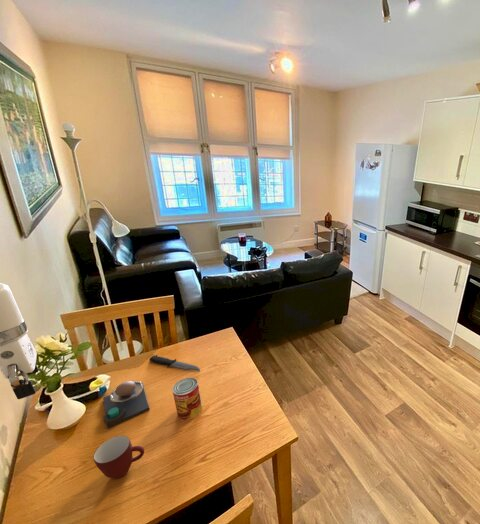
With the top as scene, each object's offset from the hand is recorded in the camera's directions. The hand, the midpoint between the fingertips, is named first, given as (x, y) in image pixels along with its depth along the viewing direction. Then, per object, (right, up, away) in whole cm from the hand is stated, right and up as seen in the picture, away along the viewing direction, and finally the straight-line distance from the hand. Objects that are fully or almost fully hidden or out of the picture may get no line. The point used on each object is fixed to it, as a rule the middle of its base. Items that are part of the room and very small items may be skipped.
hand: (29, 384), depth 77 cm
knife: (+11, -12, +47) cm, 50 cm away
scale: (+5, -20, +28) cm, 34 cm away
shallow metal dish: (+4, -16, +29) cm, 33 cm away
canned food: (+28, -22, +27) cm, 45 cm away
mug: (+20, -29, +8) cm, 36 cm away
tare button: (+5, -19, +21) cm, 29 cm away
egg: (+4, -16, +29) cm, 33 cm away
